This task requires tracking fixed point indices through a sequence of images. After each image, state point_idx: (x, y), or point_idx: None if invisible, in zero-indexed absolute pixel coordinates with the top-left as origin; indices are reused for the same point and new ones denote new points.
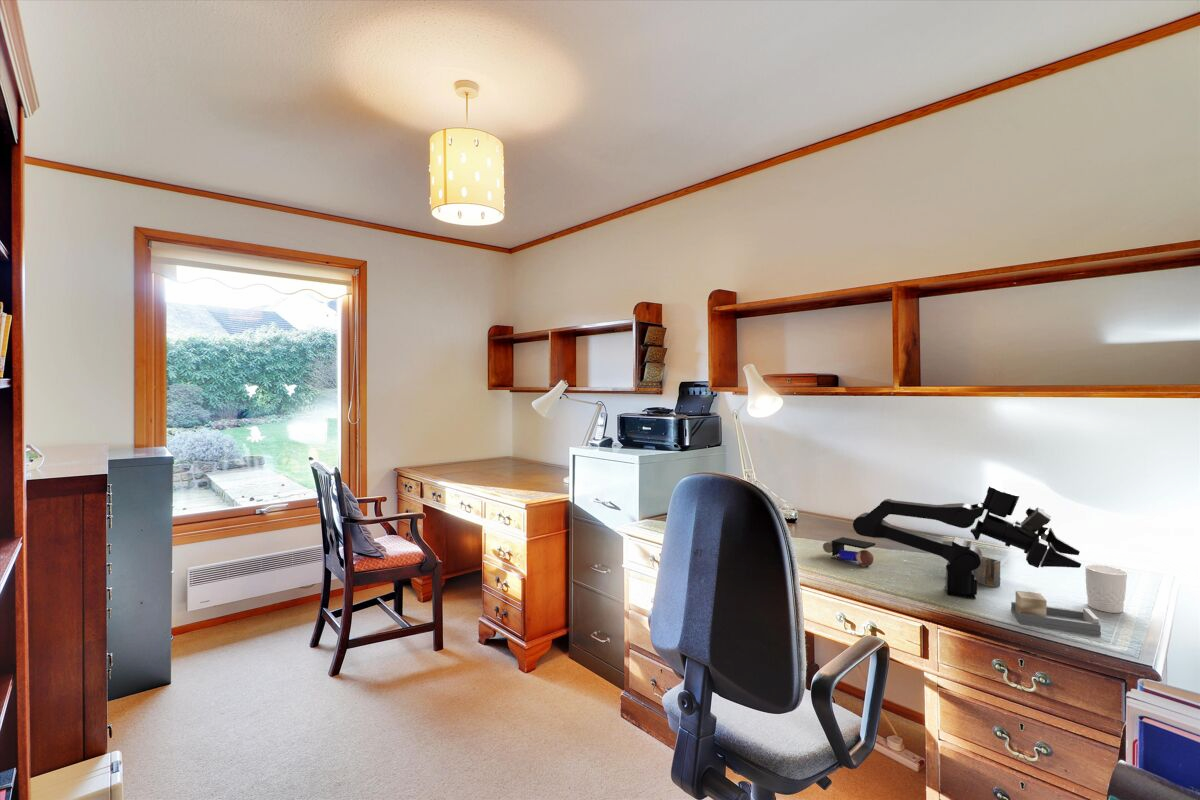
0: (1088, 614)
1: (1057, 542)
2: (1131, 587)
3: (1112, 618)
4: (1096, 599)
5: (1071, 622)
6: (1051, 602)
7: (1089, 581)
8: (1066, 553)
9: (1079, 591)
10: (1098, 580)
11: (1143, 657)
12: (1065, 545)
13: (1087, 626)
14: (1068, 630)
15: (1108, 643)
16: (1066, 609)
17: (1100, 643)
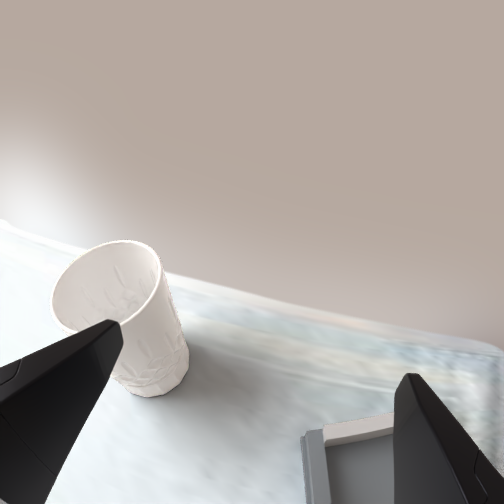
0: (379, 430)
1: (20, 417)
2: (25, 271)
3: (238, 369)
4: (167, 374)
5: None
6: (151, 492)
7: (127, 360)
8: (95, 401)
9: None
10: (152, 334)
11: (486, 348)
12: (60, 378)
13: None
14: None
15: (458, 402)
16: (322, 488)
17: (470, 416)
